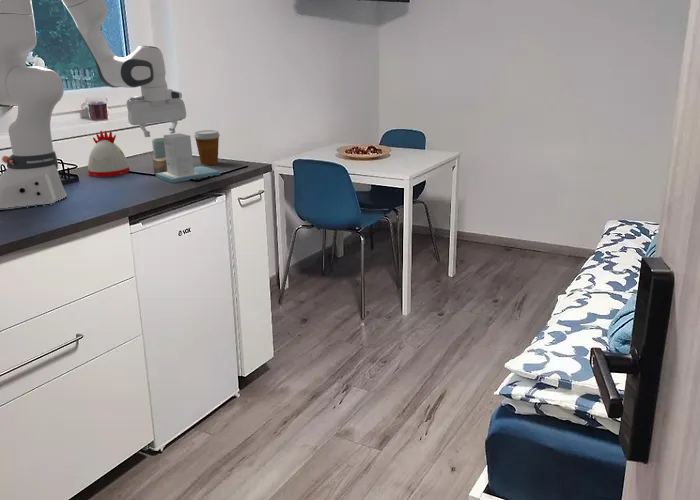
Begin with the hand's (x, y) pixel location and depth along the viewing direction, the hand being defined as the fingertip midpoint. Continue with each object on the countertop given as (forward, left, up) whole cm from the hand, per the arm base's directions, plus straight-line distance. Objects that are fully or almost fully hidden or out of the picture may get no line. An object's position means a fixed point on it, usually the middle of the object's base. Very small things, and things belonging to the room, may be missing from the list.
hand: (160, 135), depth 223 cm
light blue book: (+4, -11, -13) cm, 18 cm away
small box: (+1, -11, -12) cm, 17 cm away
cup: (+6, +11, -14) cm, 18 cm away
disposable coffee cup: (+20, +3, -14) cm, 24 cm away
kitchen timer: (-14, +15, -14) cm, 25 cm away
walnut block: (0, 0, -14) cm, 14 cm away
